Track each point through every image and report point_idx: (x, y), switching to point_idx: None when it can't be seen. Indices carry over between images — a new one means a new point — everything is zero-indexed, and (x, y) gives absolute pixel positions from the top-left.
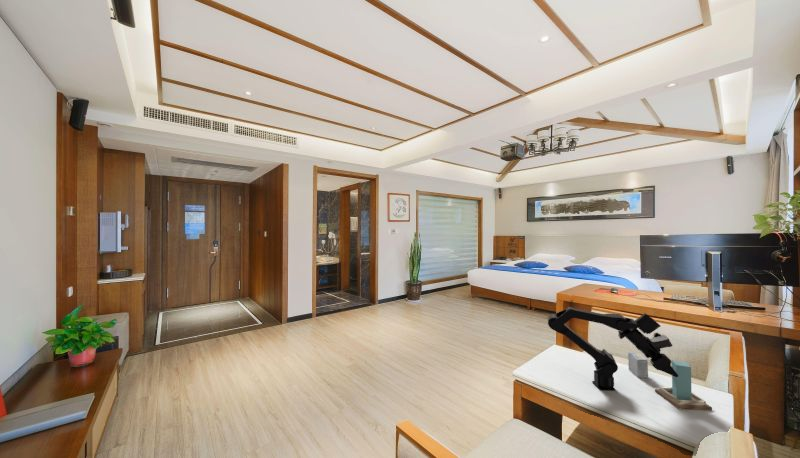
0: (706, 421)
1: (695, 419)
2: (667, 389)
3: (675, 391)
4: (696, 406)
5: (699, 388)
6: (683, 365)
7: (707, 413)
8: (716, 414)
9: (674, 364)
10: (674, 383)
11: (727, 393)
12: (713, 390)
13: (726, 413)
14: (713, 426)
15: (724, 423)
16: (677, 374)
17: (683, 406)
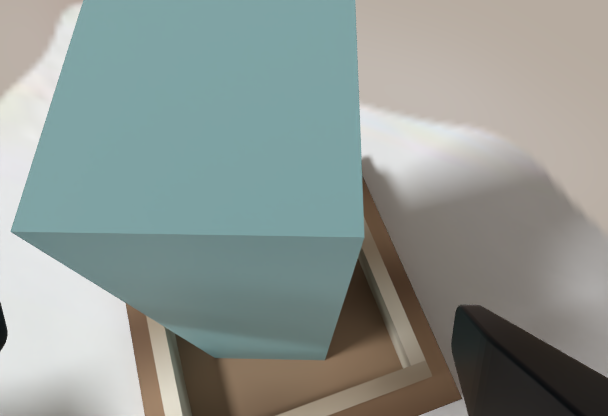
0: (549, 257)
1: (566, 322)
2: (182, 390)
3: (293, 350)
4: (388, 246)
5: (35, 119)
6: (319, 85)
7: (417, 207)
8: (403, 160)
9: (233, 250)
10: (263, 339)
11: (79, 7)
12: (52, 56)
13: (359, 104)
14: (597, 239)
15: (508, 162)
16: (507, 321)
17: (438, 348)
